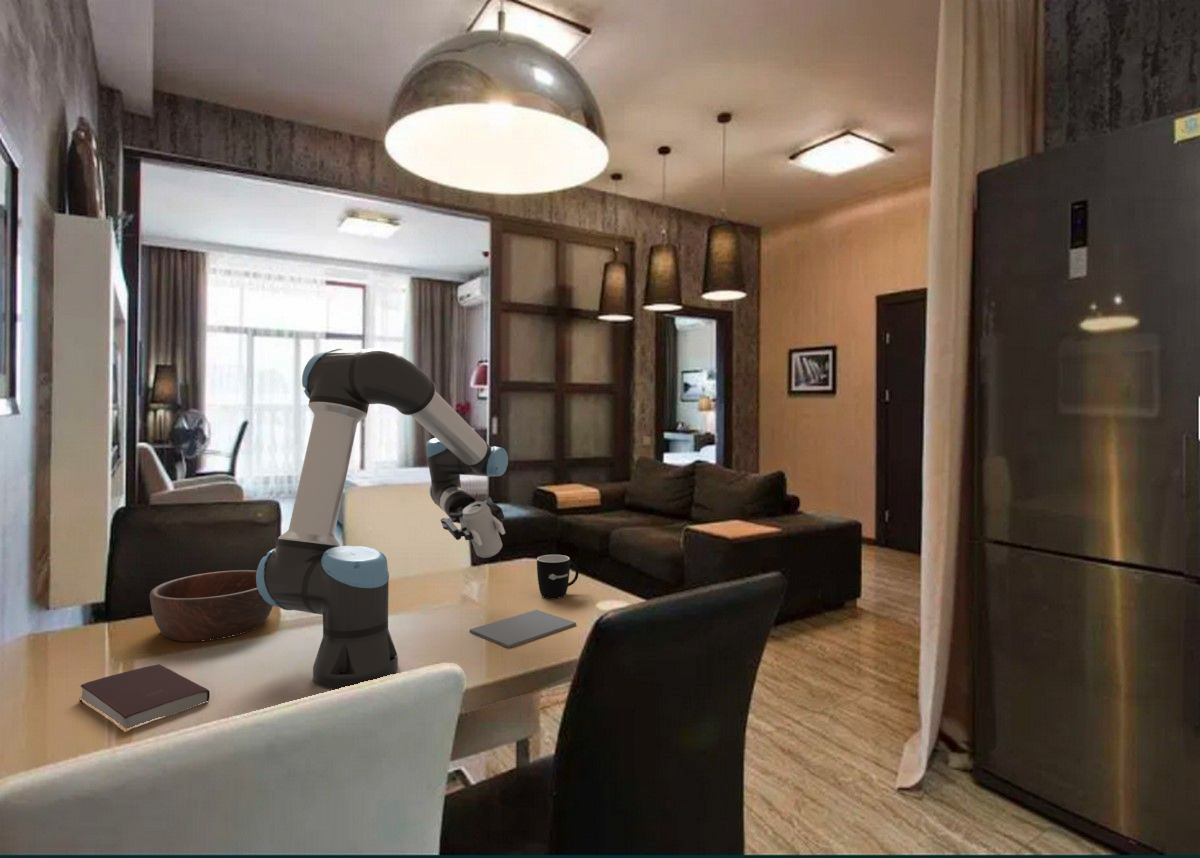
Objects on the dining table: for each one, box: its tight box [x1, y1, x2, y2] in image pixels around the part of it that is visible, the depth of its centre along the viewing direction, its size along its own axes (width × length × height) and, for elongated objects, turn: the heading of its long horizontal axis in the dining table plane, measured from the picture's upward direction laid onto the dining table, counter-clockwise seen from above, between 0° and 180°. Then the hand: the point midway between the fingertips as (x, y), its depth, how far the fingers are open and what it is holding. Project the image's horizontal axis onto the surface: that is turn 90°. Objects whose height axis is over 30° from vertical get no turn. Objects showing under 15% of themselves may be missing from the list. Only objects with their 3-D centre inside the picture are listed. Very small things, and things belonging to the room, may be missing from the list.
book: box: [80, 663, 211, 729], centre depth 109 cm, size 12×19×3 cm, turn 56°
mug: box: [536, 554, 580, 599], centre depth 173 cm, size 12×9×10 cm
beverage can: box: [462, 501, 503, 559], centre depth 147 cm, size 6×6×12 cm
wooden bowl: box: [149, 569, 274, 642], centre depth 146 cm, size 25×25×10 cm
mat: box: [469, 609, 577, 649], centre depth 146 cm, size 20×14×1 cm
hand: (490, 534), depth 142 cm, fingers closed on beverage can, 5 cm apart
